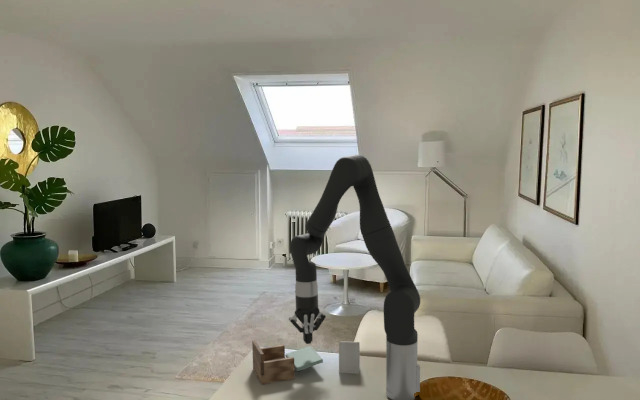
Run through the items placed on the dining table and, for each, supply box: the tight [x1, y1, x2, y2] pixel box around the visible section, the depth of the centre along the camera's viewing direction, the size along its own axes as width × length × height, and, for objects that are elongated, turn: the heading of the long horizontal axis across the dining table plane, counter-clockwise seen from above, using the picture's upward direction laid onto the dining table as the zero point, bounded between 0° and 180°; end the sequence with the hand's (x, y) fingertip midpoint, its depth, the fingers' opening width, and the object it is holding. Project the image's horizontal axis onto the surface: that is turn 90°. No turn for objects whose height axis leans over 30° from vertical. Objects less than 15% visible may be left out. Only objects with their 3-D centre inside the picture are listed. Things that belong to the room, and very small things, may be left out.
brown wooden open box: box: [251, 339, 296, 385], centre depth 168 cm, size 11×12×10 cm
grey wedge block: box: [338, 340, 361, 374], centre depth 170 cm, size 4×7×10 cm, turn 84°
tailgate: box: [285, 345, 324, 372], centre depth 172 cm, size 1×12×10 cm
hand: (308, 342), depth 172 cm, fingers closed
